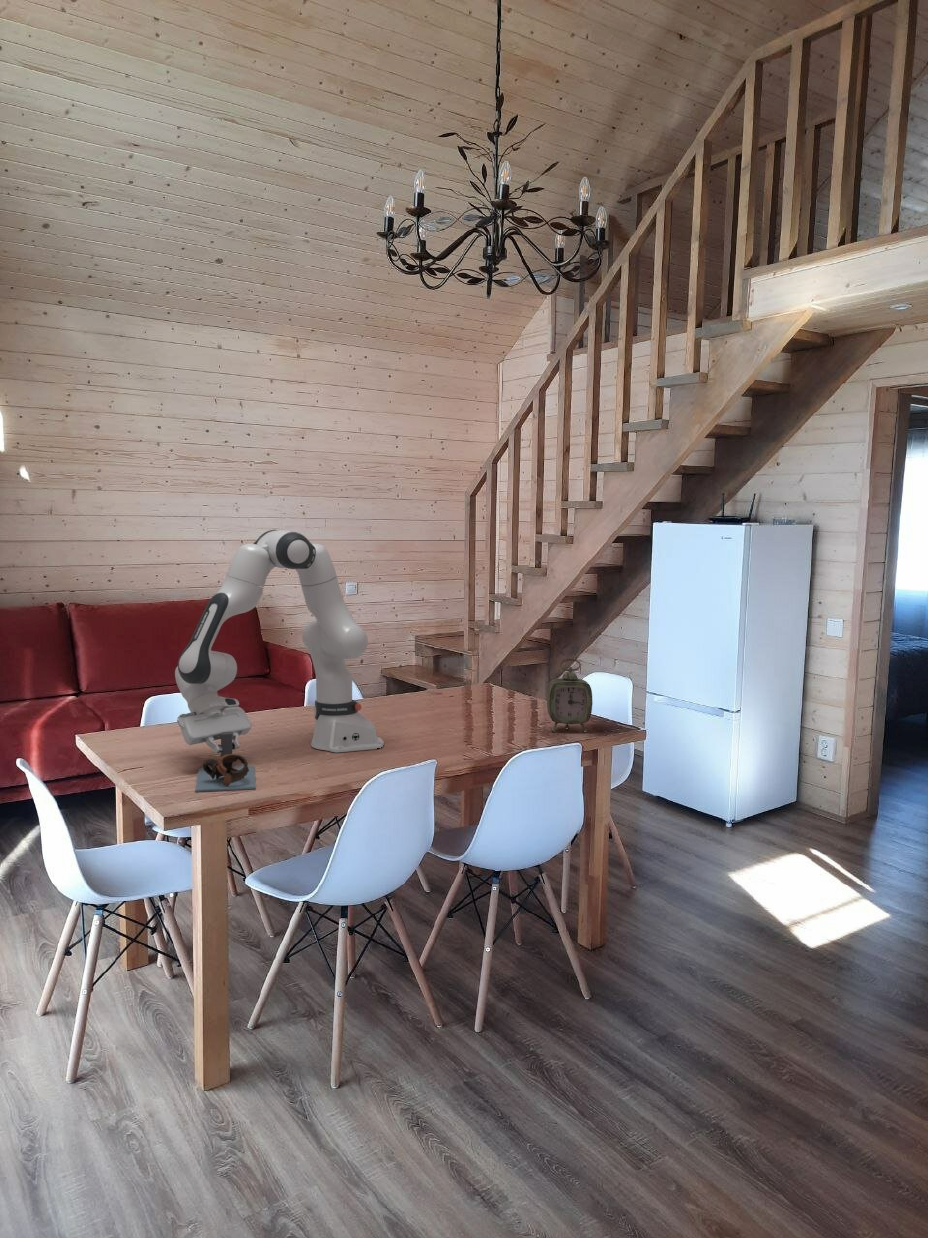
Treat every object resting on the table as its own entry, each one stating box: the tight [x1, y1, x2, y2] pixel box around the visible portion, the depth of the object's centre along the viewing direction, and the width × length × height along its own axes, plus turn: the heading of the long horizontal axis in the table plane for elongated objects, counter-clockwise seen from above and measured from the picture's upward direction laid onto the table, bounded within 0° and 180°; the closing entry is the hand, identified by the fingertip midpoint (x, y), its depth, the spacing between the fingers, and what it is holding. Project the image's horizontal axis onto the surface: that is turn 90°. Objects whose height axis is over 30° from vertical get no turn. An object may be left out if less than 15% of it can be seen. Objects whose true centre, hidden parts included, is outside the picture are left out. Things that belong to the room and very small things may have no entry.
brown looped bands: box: [202, 753, 249, 786], centre depth 237 cm, size 12×10×8 cm
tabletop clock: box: [546, 658, 594, 733], centre depth 305 cm, size 14×9×25 cm, turn 92°
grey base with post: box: [194, 732, 256, 793], centre depth 241 cm, size 15×21×10 cm
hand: (228, 750), depth 249 cm, fingers closed on grey base with post, 4 cm apart
